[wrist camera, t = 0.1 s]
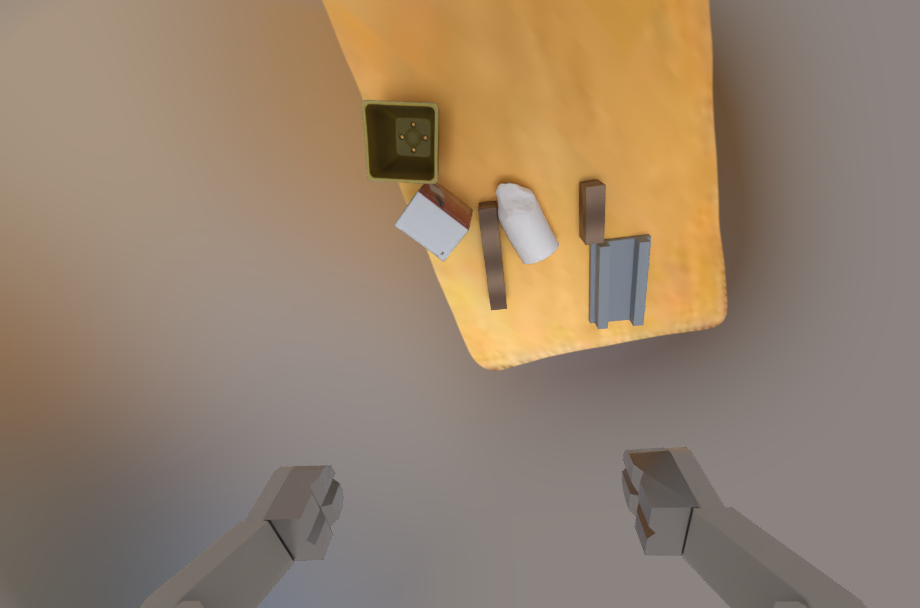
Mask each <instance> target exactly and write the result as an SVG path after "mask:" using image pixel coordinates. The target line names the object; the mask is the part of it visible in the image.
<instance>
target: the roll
mask: <svg viewBox="0 0 920 608" xmlns="http://www.w3.org/2000/svg"><path fill="white" fill-rule="evenodd" d="M495 194H496V196H497V200H498V206H497V217H498V220H499V222H500V224H501V225H502V227H503V229H504V231H505V232H506V235H507V236H508V238H509V240H510V242H511V243H512V245H513V247H514V249H515V250H516V252H517V253H518V255H519V257H520V259H521V260H522V262H523V263H524V264H533V263H536V262H539V261H542V260H544V259H545V258H547V257H548V256H550V255H551V254H552V253H554V252H555V251H556V249H557V248H558V246H559V243H558V241H557V239H556V237H555V236H554V234H553V232H552V230H551V228H550V226H549V224H548V222H547V220H546V218H545V216H544V214H543V212H542V209H541V207H540V205H539V203H538V201H537V199H536V197H535V195H534V193H533V192H532V191H531V190H530V189H527V188H524V187H521V186H519V185H517V184H511V183H508V184H507V183H506V184H500V185H499V186H498V187H497V189H496V191H495Z"/></svg>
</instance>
